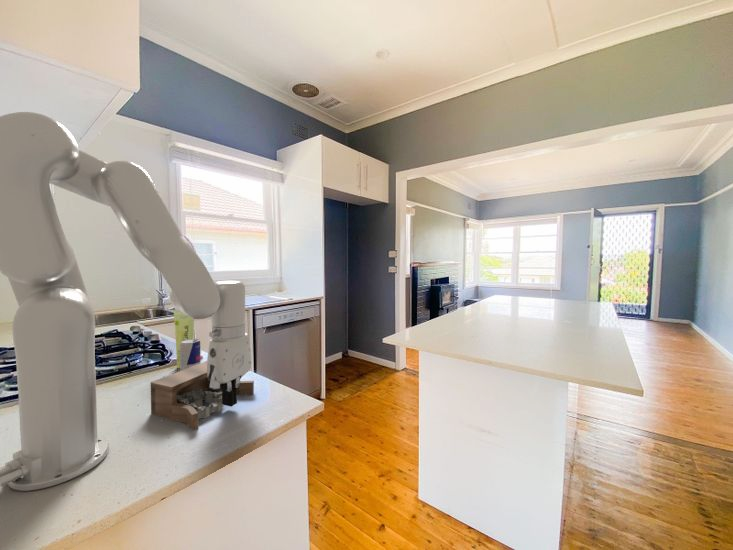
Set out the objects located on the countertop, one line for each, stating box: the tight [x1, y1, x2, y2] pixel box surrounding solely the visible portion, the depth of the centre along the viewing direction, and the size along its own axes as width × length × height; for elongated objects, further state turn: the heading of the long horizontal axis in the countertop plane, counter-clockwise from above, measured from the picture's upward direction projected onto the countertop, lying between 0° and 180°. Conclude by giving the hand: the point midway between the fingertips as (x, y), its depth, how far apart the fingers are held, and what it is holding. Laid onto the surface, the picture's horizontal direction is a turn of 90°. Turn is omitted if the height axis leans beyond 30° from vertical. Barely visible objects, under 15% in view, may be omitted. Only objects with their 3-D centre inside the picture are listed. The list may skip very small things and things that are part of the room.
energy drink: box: [179, 338, 202, 371], centre depth 91 cm, size 5×5×12 cm
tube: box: [173, 309, 195, 369], centre depth 101 cm, size 6×5×20 cm
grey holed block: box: [177, 389, 224, 419], centre depth 74 cm, size 11×8×4 cm
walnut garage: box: [150, 360, 255, 431], centre depth 76 cm, size 19×16×8 cm
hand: (229, 404), depth 74 cm, fingers closed
